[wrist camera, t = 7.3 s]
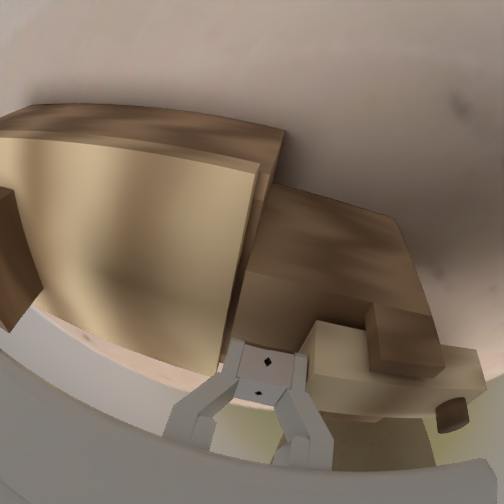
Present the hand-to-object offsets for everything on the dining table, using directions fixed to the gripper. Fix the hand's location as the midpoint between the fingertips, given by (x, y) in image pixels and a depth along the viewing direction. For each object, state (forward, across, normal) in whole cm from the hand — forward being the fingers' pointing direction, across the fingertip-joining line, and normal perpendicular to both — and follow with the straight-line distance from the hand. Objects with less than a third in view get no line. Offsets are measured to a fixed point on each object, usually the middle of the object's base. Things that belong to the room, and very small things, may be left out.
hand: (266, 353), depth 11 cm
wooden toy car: (+1, -6, 0) cm, 6 cm away
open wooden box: (+10, +8, 0) cm, 12 cm away
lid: (+4, +12, 0) cm, 13 cm away
